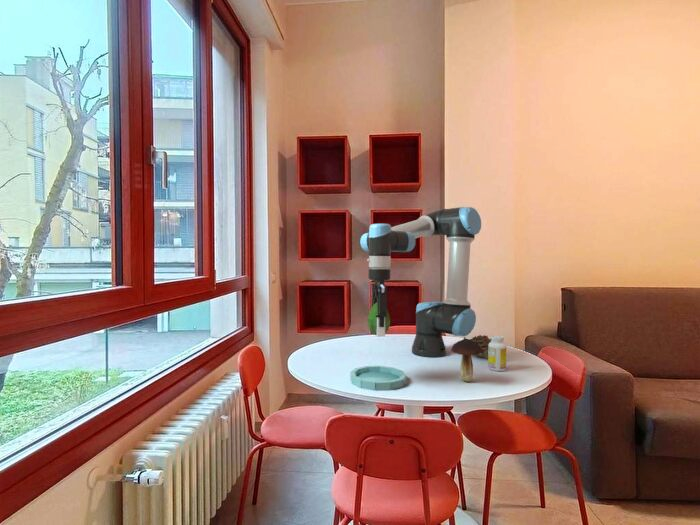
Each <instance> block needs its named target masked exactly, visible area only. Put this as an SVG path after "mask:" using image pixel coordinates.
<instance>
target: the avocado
mask: <svg viewBox="0 0 700 525" xmlns="http://www.w3.org/2000/svg"><path fill="white" fill-rule="evenodd" d="M381 313H383V312H381ZM376 315H378V309H377V302H376V303H375V304H374V305H373V307H372V306H371V308H370V310H369V312H368V315H367V318H366V323H367V324H366V325H367V327H368V330H369V332H370V333H371V334H373V335H375V336H377V317H376ZM390 326H391V317H390V314H389V311H388V310H387V316H386V317H385V335H386V334H387V332H388V331H389V328H390Z"/></svg>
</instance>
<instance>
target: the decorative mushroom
mask: <svg viewBox="0 0 700 525" xmlns="http://www.w3.org/2000/svg"><path fill="white" fill-rule="evenodd" d="M470 339H471V338H466V339H464V338H463V339H461V340H458V341H457V342H455V343H453V345H452V346H451V348H450V351H451V352H452V353H455V354H457V355H462V357H461V360H460V361H461V362H460V372H459V374H460V375H459V376H460V379H461V380H462V381H463V382H465V383H469V382H471V381H472V380H473V379H474V378H473V377H474V368H473V367H474V365H473V358H472V357H473V356H476V355H477V354H480V353H483V349H482V348H481V346H480V345H478V344H477V343H476V342H474V341H472V340H470Z"/></svg>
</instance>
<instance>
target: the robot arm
mask: <svg viewBox="0 0 700 525" xmlns="http://www.w3.org/2000/svg"><path fill="white" fill-rule="evenodd" d="M481 229H482V219H481V216H480V214H479V212H478V210H477V209H476V208H474V207H472V206H461V207H452V208H441V209H439V210H435V211H433V212H429V213H426V214H423V215H421V216H420V217H418V218H417V219H416V220H412V221H408V222H406V223H402V224H398V225H395V226H391V224H389V223H372V224H370V226H369V230H368V232H366V233H364V234H362V235H361V237H360V239H359V241H360V242H359V243H360V248H362V250H363V251H364V252H368V255H369V256H368V258H367V260H366V261H367V262H368V267H369V268H370V269H368V279H369V280H371V281H373V282H374V283H372V284H371V287H372V293H371V294H372V295H371V308H372V307H373V305H374V304H375V303H376V302H377V309H378V315H376V317H377V335H376V337H386V334H385V317H386V316H387V311H388V305H387V302H388V301H387V291H388V290H387V289H388V286H386V285H385V281H389V280H391V270H390V269H389V268H391V265H392V264H391V258H392V257H391V254H392V253H391V252H393V253H394V252H395V253H396V252H397V253H407V252H408V253H409V252H411V251H412V250H413V249H414V248H415V246H416V239H418V238H421V237H425V238H428V237H433V236H446V237H445V240H447V241H448V242H449V245H448V246H449V247H448V264H447V277H446V278H447V282H446V294H445V295H446V297H445V299H444V300H442V301H428V302H427V301H425V302H418V304H417V305H416V308H415V310H416V311H415V337H414V339H413V343H412V346H411V353H412V354H413V355H415V356H418V357H424V358H425V357H427V358H439V357H440V358H441V357H444V356H446V354H447V349H446V344H445V342H444V338H443V334H448V335H453V336H454V337H456V336H459V337H466V336H468V335H470V334H471V332H472V331H473V330H474V328H475V325H476V322H477V315H476V312H475V311H474V310H473V309H472V308H471V303H470V302H469V301H468V293H469V292H468V291H469V273H470V257H471V255H470V254H471V244H472V242H473V241H475V236H476V235H478V234H479V233H480V231H481ZM381 312H383V313H381Z"/></svg>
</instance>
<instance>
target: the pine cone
mask: <svg viewBox="0 0 700 525" xmlns="http://www.w3.org/2000/svg"><path fill="white" fill-rule="evenodd" d="M463 339H467V338H466V336H463ZM469 339H470V340H472V341H474V342H476V343H477V344H478V345H480V346H481V348H482V349H483V353H480V354H477V355H475V356H476V357H478V358H479V357H481V358H485V357H487V358H488V344H489V343H490V342H492V340H491V338H489V336H488V335H481V334H479V335H477V336H476V335H474V337H472V338H469Z"/></svg>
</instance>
